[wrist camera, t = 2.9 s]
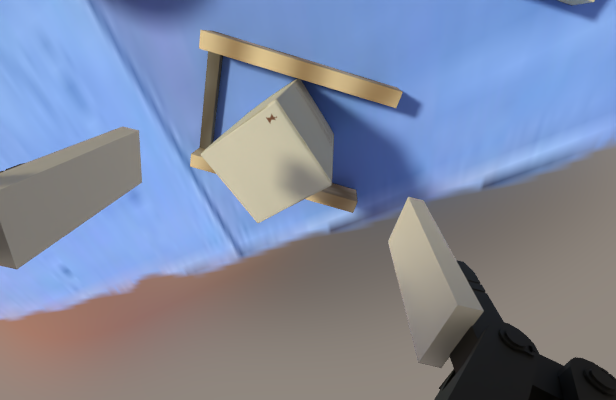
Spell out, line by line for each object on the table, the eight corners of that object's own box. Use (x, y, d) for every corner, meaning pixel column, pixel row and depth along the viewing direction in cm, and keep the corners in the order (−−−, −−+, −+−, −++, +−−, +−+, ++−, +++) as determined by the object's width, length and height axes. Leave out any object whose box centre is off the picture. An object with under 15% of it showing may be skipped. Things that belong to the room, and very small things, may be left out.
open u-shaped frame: (201, 156, 35) (190, 166, 33) (213, 30, 29) (200, 30, 26) (351, 200, 36) (352, 212, 33) (396, 87, 29) (402, 92, 27)
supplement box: (244, 114, 32) (195, 151, 21) (300, 75, 30) (277, 95, 19) (282, 167, 35) (256, 226, 24) (336, 136, 32) (335, 185, 21)
